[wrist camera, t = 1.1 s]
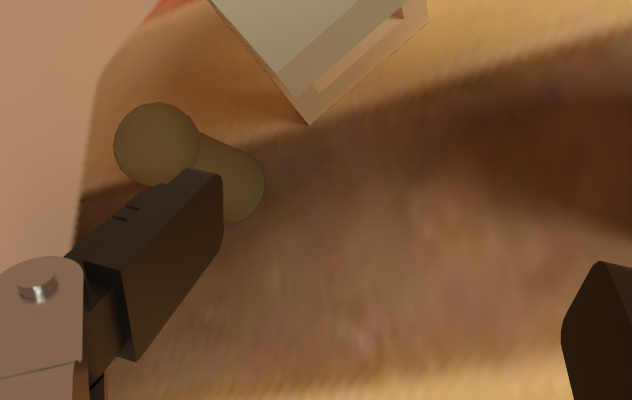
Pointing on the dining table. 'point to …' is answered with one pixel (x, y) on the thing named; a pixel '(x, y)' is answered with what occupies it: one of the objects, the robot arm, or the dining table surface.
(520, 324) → the dining table surface
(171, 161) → the cork
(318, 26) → the cream side table
